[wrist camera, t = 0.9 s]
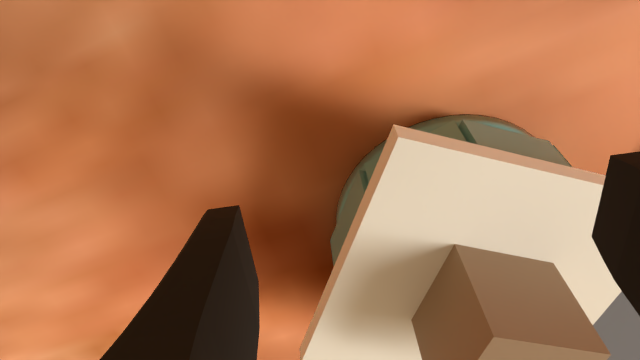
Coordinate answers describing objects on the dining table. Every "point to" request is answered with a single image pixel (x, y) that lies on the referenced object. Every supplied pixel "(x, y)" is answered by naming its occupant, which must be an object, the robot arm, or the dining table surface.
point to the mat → (620, 329)
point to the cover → (466, 260)
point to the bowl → (454, 127)
